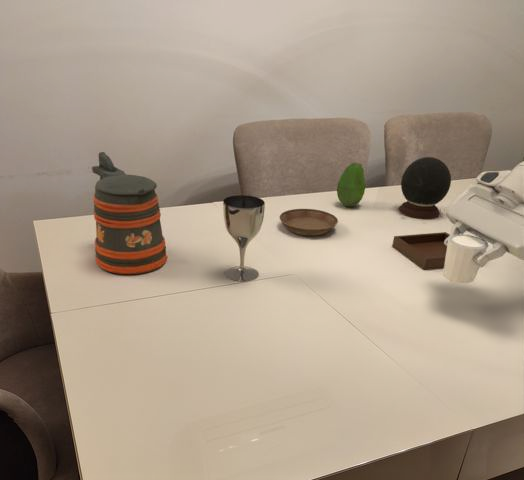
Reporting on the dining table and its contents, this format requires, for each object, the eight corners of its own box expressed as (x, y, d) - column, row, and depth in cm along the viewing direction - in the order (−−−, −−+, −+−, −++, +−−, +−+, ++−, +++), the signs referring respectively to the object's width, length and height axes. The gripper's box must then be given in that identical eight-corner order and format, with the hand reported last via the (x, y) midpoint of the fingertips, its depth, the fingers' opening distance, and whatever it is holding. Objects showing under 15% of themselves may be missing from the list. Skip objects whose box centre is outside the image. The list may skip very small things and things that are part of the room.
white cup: (442, 265, 97) (451, 231, 93) (479, 273, 95) (490, 238, 91) (436, 279, 92) (445, 243, 88) (475, 288, 89) (486, 251, 86)
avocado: (367, 206, 145) (374, 163, 139) (352, 212, 140) (359, 168, 134) (344, 199, 150) (349, 157, 143) (329, 205, 144) (334, 162, 138)
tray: (443, 241, 125) (445, 231, 123) (478, 264, 114) (481, 253, 113) (391, 246, 120) (394, 236, 119) (423, 270, 110) (426, 259, 108)
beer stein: (74, 250, 109) (57, 155, 98) (133, 236, 117) (124, 146, 106) (118, 282, 98) (105, 177, 87) (180, 263, 106) (176, 166, 95)
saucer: (295, 242, 120) (296, 231, 118) (269, 221, 131) (270, 211, 129) (347, 235, 125) (349, 225, 123) (318, 216, 136) (319, 206, 135)
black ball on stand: (396, 202, 150) (407, 149, 141) (442, 208, 147) (455, 155, 139) (394, 216, 139) (405, 160, 131) (443, 223, 136) (457, 166, 128)
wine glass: (257, 284, 100) (260, 210, 92) (218, 279, 101) (218, 205, 93) (263, 267, 107) (267, 197, 98) (227, 263, 108) (228, 193, 99)
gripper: (574, 227, 82) (509, 289, 84) (487, 191, 98) (434, 244, 100) (564, 203, 78) (496, 267, 81) (475, 169, 94) (420, 224, 96)
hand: (461, 254), depth 91 cm, fingers closed on white cup, 7 cm apart
